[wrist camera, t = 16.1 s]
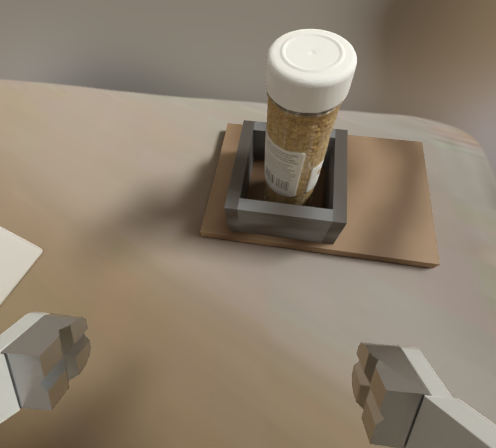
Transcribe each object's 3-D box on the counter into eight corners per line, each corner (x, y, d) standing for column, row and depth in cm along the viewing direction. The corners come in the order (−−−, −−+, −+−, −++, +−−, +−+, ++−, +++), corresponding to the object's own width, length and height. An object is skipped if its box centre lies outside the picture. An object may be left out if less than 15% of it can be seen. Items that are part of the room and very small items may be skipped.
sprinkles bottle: (321, 204, 25) (379, 62, 13) (277, 225, 25) (297, 94, 13) (295, 168, 27) (325, 15, 15) (253, 187, 26) (250, 40, 14)
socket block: (201, 236, 25) (190, 209, 21) (228, 130, 31) (224, 91, 27) (432, 268, 24) (474, 246, 19) (416, 148, 29) (445, 110, 25)
